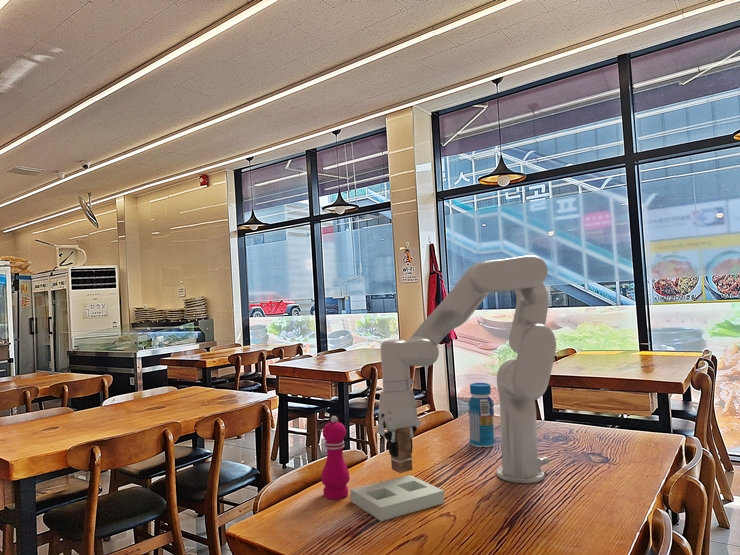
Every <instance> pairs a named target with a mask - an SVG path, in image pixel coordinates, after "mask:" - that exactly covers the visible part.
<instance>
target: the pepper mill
mask: <svg viewBox="0 0 740 555" xmlns="http://www.w3.org/2000/svg"><path fill="white" fill-rule="evenodd" d="M346 435H347V429H346V426H345V425H344V424H343V423H342V422H339V421H338V417H337V416H336V415H332V416H331V417H330V422H328V423H326V424H325V425H324V427H323V429H322V437H323V439H324V440H325V441H324V448H325V449H326V459H325V460H326V461H325V463H324V467H323V469H322V471H321V478H320V480H321V482H322V485H323V486H324V487H323V497H324V498H325V499H328V500H341V499H345V498H346V497H348V495H349V487H348V486H347V484H349V482H350V472H349V469H348V466H347V464H346V462H345V459H344V448H345V441H344V439H345V438H346Z"/></svg>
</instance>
